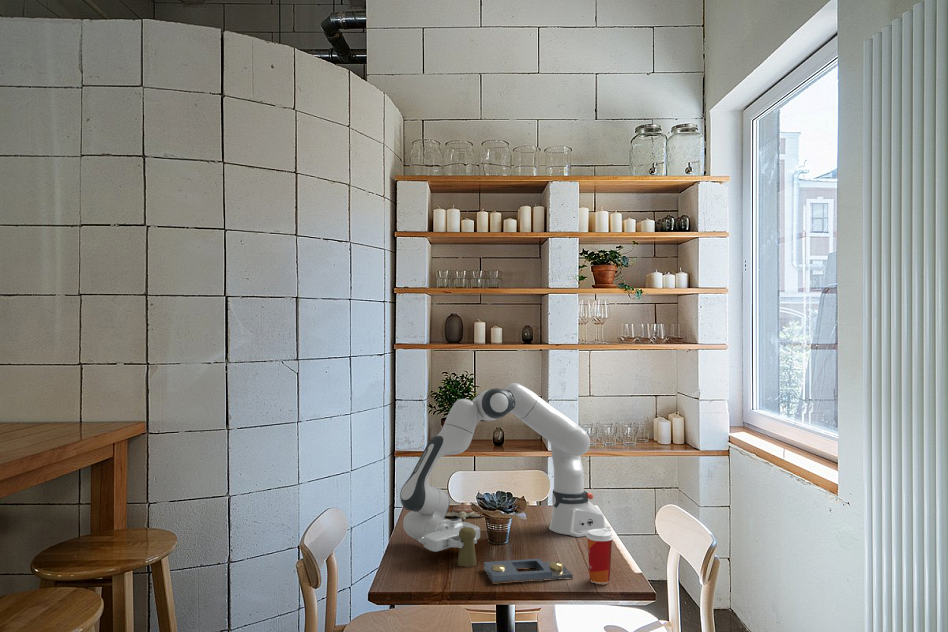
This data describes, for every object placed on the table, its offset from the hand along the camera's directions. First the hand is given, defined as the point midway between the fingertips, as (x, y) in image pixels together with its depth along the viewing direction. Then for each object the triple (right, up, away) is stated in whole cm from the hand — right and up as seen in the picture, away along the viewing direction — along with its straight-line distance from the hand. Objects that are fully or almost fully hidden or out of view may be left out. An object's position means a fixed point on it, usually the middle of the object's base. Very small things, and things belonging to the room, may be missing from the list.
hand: (469, 543), depth 193 cm
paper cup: (+38, -7, -13) cm, 41 cm away
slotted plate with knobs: (+17, -6, -8) cm, 20 cm away
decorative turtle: (-3, -9, +54) cm, 55 cm away
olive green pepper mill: (-1, -7, 0) cm, 7 cm away
